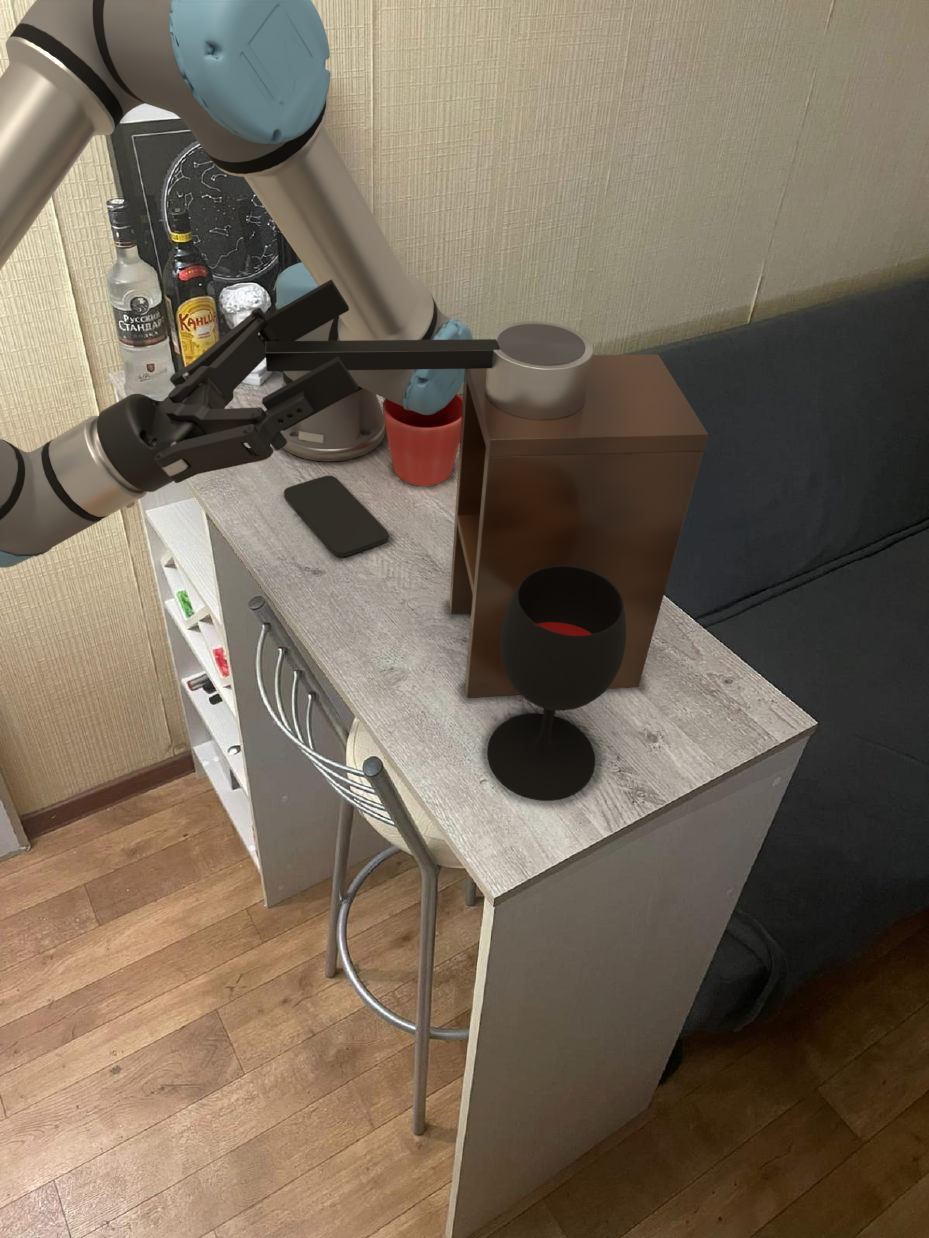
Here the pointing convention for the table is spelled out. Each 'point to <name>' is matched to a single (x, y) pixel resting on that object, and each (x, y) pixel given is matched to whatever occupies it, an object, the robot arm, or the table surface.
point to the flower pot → (423, 441)
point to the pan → (471, 363)
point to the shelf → (572, 503)
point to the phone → (336, 516)
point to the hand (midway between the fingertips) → (344, 331)
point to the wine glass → (556, 677)
